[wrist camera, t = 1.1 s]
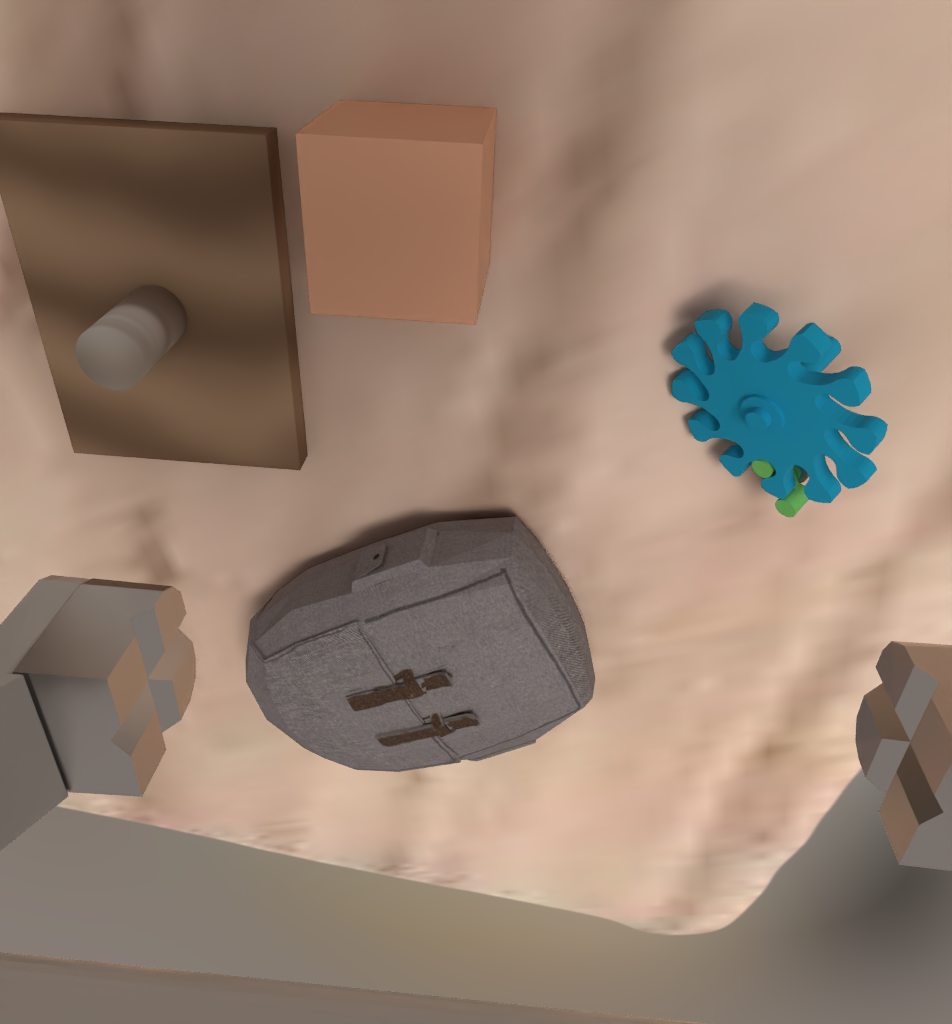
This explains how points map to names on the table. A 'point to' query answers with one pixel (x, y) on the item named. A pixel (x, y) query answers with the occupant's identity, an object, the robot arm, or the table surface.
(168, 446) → the stub plate
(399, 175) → the salmon orange block
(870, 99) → the table surface
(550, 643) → the small grey backpack
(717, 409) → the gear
